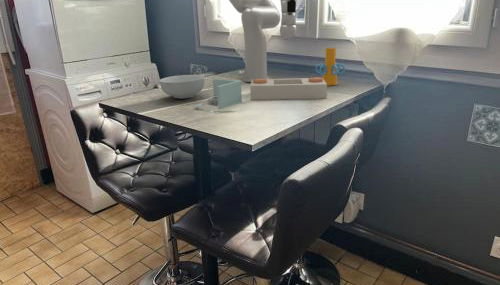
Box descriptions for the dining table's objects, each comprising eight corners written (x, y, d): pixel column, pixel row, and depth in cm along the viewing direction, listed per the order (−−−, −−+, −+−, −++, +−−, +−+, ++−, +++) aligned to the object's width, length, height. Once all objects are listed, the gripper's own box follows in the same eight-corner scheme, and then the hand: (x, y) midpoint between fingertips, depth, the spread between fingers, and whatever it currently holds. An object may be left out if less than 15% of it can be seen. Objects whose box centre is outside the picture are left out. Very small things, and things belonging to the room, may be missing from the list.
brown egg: (309, 94, 142) (309, 79, 140) (307, 92, 147) (308, 77, 145) (323, 94, 141) (323, 79, 140) (321, 91, 146) (322, 77, 145)
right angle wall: (215, 98, 143) (214, 78, 141) (241, 102, 137) (241, 80, 134) (193, 105, 134) (191, 83, 132) (220, 109, 127) (219, 86, 125)
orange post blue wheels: (345, 82, 165) (347, 46, 161) (342, 87, 156) (344, 49, 151) (317, 82, 169) (318, 46, 165) (312, 86, 160) (313, 49, 155)
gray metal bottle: (289, 37, 156) (289, -17, 150) (300, 37, 151) (301, -18, 144) (276, 38, 153) (276, -17, 146) (287, 38, 147) (287, -18, 141)
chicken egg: (253, 95, 143) (252, 81, 141) (253, 93, 148) (253, 78, 146) (267, 95, 143) (266, 80, 141) (267, 92, 148) (267, 78, 146)
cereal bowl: (188, 90, 160) (187, 73, 158) (214, 95, 149) (213, 76, 147) (152, 97, 149) (150, 79, 147) (177, 103, 138) (176, 83, 136)
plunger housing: (250, 99, 139) (250, 85, 137) (252, 92, 152) (252, 79, 151) (326, 98, 137) (327, 84, 136) (321, 90, 151) (322, 77, 149)
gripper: (306, -42, 136) (305, 12, 141) (291, -37, 152) (291, 12, 157) (285, -42, 134) (285, 12, 140) (272, -36, 150) (273, 12, 156)
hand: (288, 12), depth 149 cm, fingers closed on gray metal bottle, 6 cm apart
